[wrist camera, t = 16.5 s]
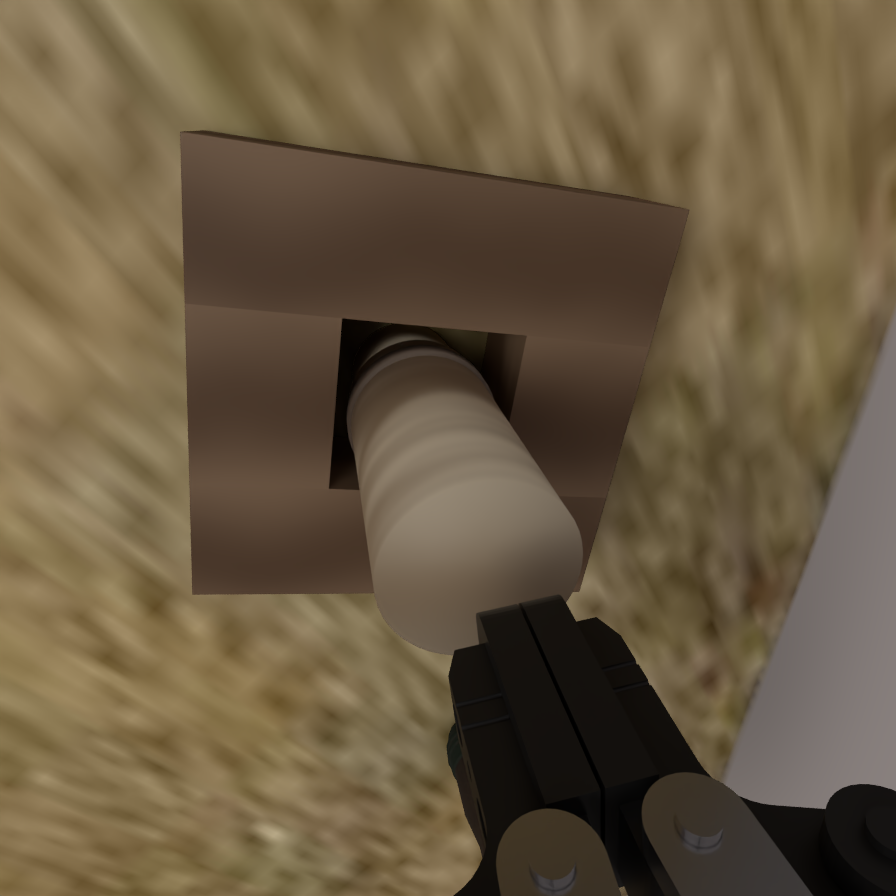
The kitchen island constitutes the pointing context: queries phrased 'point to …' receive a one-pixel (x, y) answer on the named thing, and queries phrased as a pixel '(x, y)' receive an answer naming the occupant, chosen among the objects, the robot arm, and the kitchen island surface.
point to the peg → (449, 493)
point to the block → (392, 301)
